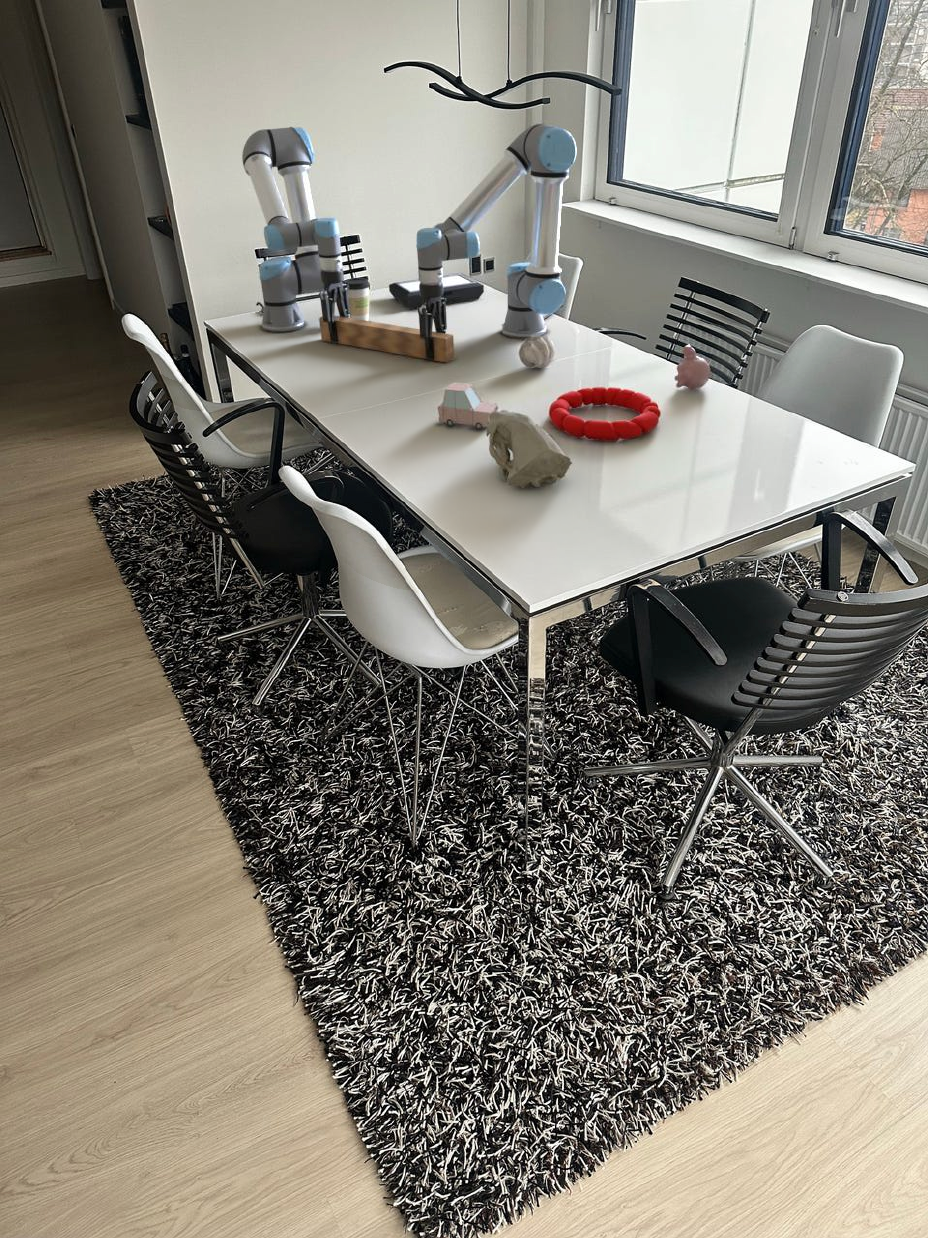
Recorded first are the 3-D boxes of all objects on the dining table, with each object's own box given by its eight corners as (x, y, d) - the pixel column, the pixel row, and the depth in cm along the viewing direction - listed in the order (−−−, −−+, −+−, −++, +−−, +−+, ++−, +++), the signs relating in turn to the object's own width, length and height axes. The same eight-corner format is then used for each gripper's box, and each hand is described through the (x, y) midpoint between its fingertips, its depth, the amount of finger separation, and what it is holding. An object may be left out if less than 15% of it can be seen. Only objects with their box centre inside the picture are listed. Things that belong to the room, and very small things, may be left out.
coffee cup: (372, 326, 323) (368, 283, 314) (345, 327, 323) (340, 284, 315) (374, 318, 331) (371, 276, 322) (348, 319, 331) (344, 277, 323)
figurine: (665, 387, 264) (669, 347, 257) (693, 380, 268) (698, 340, 261) (686, 396, 257) (690, 355, 250) (714, 388, 262) (720, 348, 255)
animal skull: (496, 517, 219) (521, 479, 201) (463, 429, 225) (484, 384, 207) (557, 503, 225) (586, 465, 206) (523, 417, 231) (549, 373, 212)
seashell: (509, 366, 283) (509, 335, 277) (548, 358, 288) (549, 327, 283) (526, 376, 275) (526, 344, 269) (566, 367, 281) (567, 335, 275)
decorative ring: (589, 435, 224) (684, 402, 234) (527, 398, 247) (617, 369, 256) (589, 461, 229) (683, 427, 238) (529, 422, 251) (617, 393, 260)
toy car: (488, 432, 240) (488, 396, 234) (436, 426, 244) (434, 390, 239) (499, 419, 247) (499, 384, 241) (448, 413, 252) (447, 379, 246)
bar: (321, 340, 311) (318, 317, 306) (329, 336, 314) (327, 314, 309) (446, 362, 287) (445, 338, 283) (454, 358, 291) (453, 334, 286)
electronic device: (407, 294, 335) (388, 282, 350) (408, 310, 338) (389, 298, 353) (483, 282, 345) (462, 272, 360) (483, 299, 348) (463, 287, 364)
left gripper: (323, 276, 288) (331, 348, 301) (356, 264, 300) (363, 333, 314) (305, 274, 291) (314, 344, 305) (339, 261, 304) (346, 330, 317)
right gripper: (425, 290, 270) (429, 365, 284) (456, 276, 282) (458, 349, 296) (405, 287, 274) (410, 362, 287) (436, 274, 286) (439, 346, 299)
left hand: (339, 338), depth 309 cm, fingers closed on bar, 5 cm apart
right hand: (434, 355), depth 291 cm, fingers closed on bar, 5 cm apart
